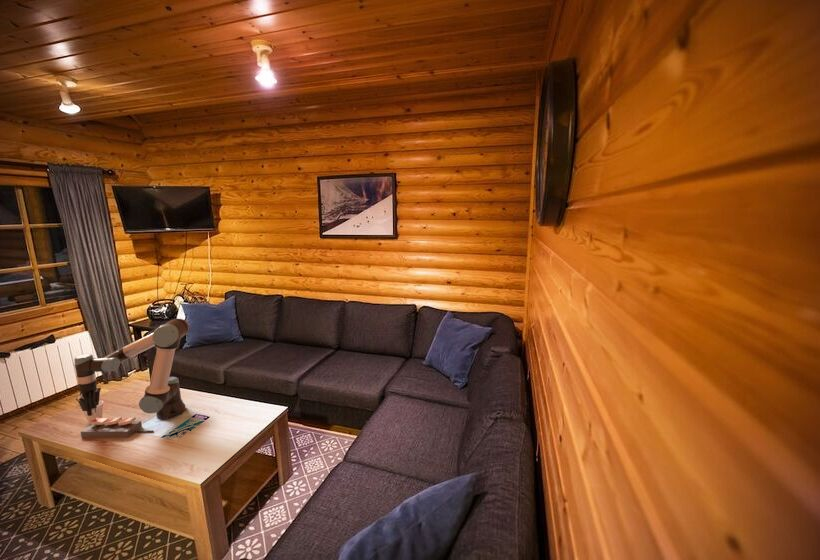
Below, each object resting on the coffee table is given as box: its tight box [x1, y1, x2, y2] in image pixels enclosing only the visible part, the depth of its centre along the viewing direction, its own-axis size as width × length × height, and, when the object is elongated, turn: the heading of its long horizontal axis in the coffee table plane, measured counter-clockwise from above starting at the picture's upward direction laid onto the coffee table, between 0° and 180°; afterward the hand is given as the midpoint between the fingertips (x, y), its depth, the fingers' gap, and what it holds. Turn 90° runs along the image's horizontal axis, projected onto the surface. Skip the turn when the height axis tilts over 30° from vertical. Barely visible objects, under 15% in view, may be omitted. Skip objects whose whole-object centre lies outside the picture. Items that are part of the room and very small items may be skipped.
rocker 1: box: [89, 417, 110, 426], centre depth 192 cm, size 7×4×2 cm, turn 90°
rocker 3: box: [118, 416, 137, 426], centre depth 192 cm, size 7×4×2 cm, turn 90°
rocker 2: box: [104, 416, 123, 426], centre depth 192 cm, size 7×4×2 cm, turn 90°
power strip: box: [80, 420, 155, 439], centre depth 191 cm, size 36×10×5 cm, turn 90°
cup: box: [80, 399, 104, 424], centre depth 202 cm, size 10×10×11 cm
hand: (92, 419), depth 192 cm, fingers closed
